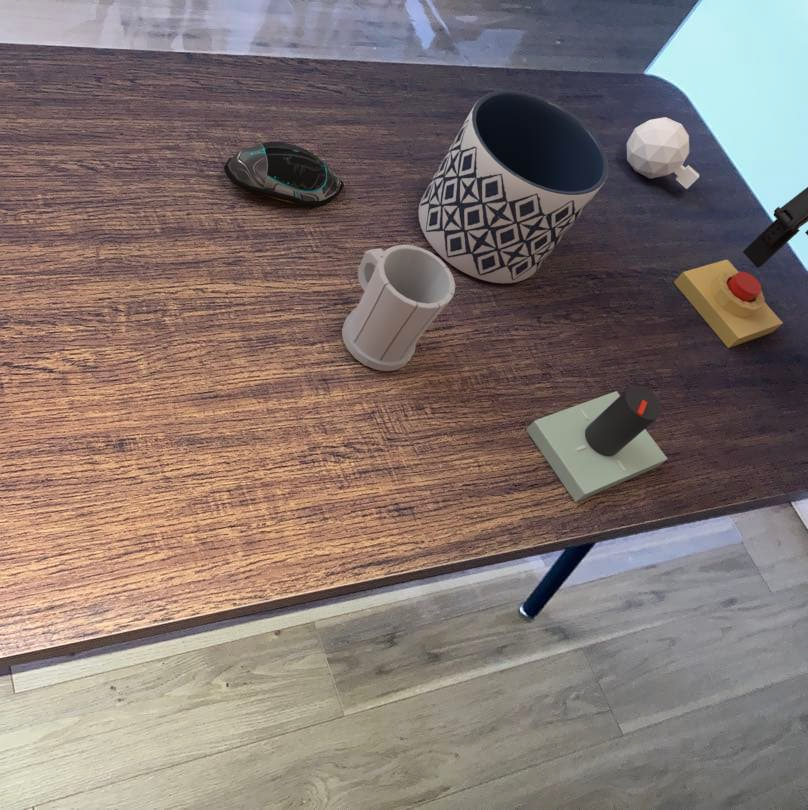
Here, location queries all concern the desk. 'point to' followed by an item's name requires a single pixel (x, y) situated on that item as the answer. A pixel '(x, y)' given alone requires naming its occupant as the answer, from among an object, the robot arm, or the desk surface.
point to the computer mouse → (284, 174)
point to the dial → (623, 420)
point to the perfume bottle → (661, 150)
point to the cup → (396, 304)
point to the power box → (726, 304)
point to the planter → (511, 186)
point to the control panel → (590, 450)
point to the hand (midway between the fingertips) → (783, 249)
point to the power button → (744, 286)
